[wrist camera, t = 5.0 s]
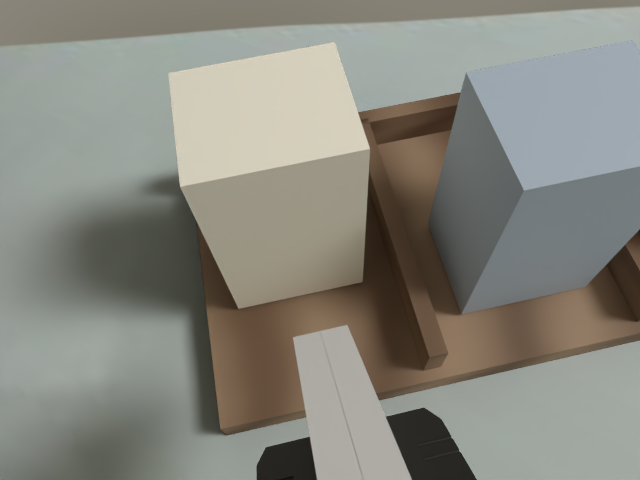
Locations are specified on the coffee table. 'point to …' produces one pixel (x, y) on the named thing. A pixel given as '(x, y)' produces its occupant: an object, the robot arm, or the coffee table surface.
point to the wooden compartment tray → (405, 296)
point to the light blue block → (539, 175)
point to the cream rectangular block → (275, 171)
